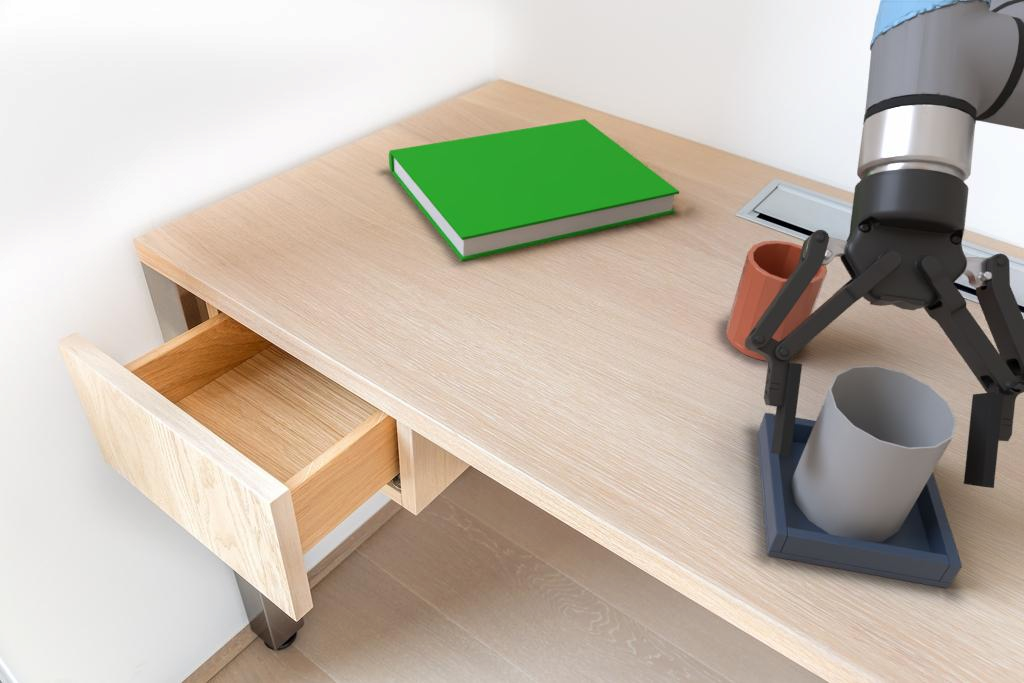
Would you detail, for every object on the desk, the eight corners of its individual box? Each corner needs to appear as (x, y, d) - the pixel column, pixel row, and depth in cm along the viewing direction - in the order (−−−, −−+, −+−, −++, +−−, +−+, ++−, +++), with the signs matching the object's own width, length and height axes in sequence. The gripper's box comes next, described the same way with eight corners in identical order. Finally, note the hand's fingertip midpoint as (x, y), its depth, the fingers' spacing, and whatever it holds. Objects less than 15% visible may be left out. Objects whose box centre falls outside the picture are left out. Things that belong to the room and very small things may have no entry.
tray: (910, 459, 66) (922, 437, 64) (947, 588, 56) (962, 566, 55) (756, 434, 67) (764, 412, 66) (767, 555, 58) (776, 533, 56)
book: (674, 213, 96) (679, 191, 94) (461, 261, 85) (462, 237, 84) (580, 137, 111) (582, 117, 110) (389, 170, 101) (388, 148, 99)
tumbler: (795, 322, 80) (822, 246, 75) (802, 366, 75) (831, 288, 69) (725, 312, 81) (746, 236, 75) (727, 355, 76) (750, 276, 70)
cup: (786, 522, 59) (827, 427, 53) (793, 447, 66) (830, 354, 59) (905, 557, 58) (962, 462, 51) (900, 476, 64) (951, 383, 57)
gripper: (1059, 218, 61) (1033, 495, 59) (730, 176, 64) (693, 440, 61) (1125, 188, 54) (1098, 504, 51) (749, 142, 56) (709, 441, 54)
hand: (878, 470), depth 56 cm, fingers open, 13 cm apart
